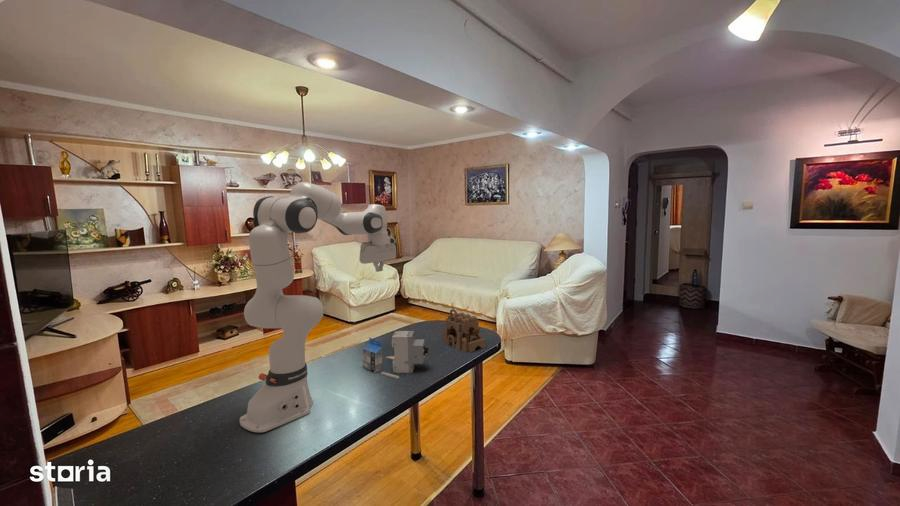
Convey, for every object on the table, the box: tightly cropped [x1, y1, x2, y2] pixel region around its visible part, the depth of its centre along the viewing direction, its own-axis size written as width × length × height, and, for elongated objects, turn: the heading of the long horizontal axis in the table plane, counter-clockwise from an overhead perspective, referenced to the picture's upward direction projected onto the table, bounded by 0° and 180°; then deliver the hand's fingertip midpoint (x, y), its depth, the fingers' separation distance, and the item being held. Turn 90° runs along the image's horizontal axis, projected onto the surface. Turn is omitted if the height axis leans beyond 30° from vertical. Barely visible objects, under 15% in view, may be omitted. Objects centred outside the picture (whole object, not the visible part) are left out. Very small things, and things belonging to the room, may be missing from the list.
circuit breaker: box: [391, 330, 429, 374], centre depth 148 cm, size 8×14×15 cm, turn 89°
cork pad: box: [385, 355, 395, 361], centre depth 162 cm, size 7×10×1 cm
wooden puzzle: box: [441, 308, 486, 353], centre depth 176 cm, size 22×15×19 cm, turn 38°
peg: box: [380, 371, 400, 380], centre depth 142 cm, size 1×9×1 cm, turn 58°
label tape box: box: [362, 337, 383, 374], centre depth 149 cm, size 9×4×12 cm, turn 48°
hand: (379, 271), depth 160 cm, fingers closed
